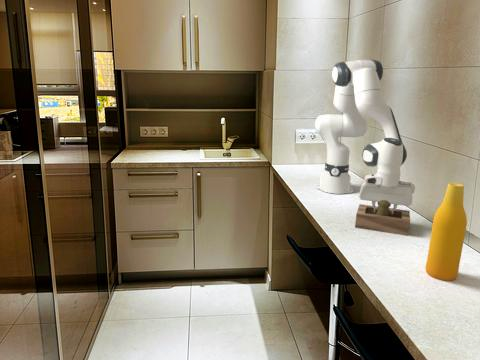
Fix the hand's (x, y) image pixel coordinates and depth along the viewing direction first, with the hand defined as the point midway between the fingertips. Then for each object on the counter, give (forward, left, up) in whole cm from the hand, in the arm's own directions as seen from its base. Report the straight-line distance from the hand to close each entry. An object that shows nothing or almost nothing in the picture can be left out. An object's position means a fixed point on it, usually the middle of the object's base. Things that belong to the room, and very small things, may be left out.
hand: (383, 212), depth 178 cm
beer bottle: (+39, +19, -6) cm, 44 cm away
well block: (0, 0, -5) cm, 5 cm away
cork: (0, 0, -5) cm, 5 cm away
